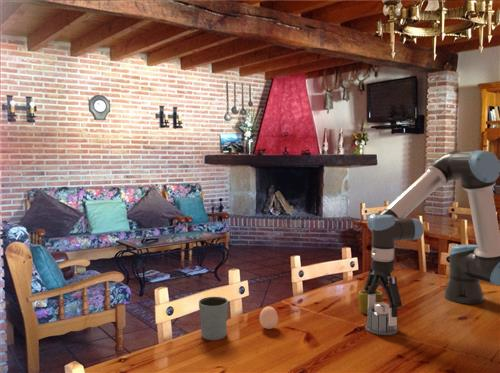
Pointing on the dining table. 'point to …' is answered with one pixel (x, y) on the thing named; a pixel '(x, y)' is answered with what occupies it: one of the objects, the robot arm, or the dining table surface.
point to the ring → (379, 322)
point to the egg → (268, 318)
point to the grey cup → (213, 317)
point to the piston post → (381, 309)
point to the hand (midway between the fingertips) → (381, 318)
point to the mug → (364, 300)
